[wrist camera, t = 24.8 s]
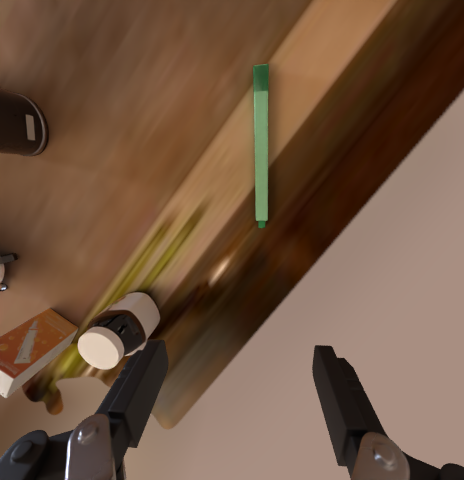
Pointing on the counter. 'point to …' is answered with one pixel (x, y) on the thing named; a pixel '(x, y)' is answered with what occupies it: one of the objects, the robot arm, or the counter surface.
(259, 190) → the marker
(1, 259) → the coffee press
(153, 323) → the spread jar
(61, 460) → the robot arm
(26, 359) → the small box
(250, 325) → the counter surface
